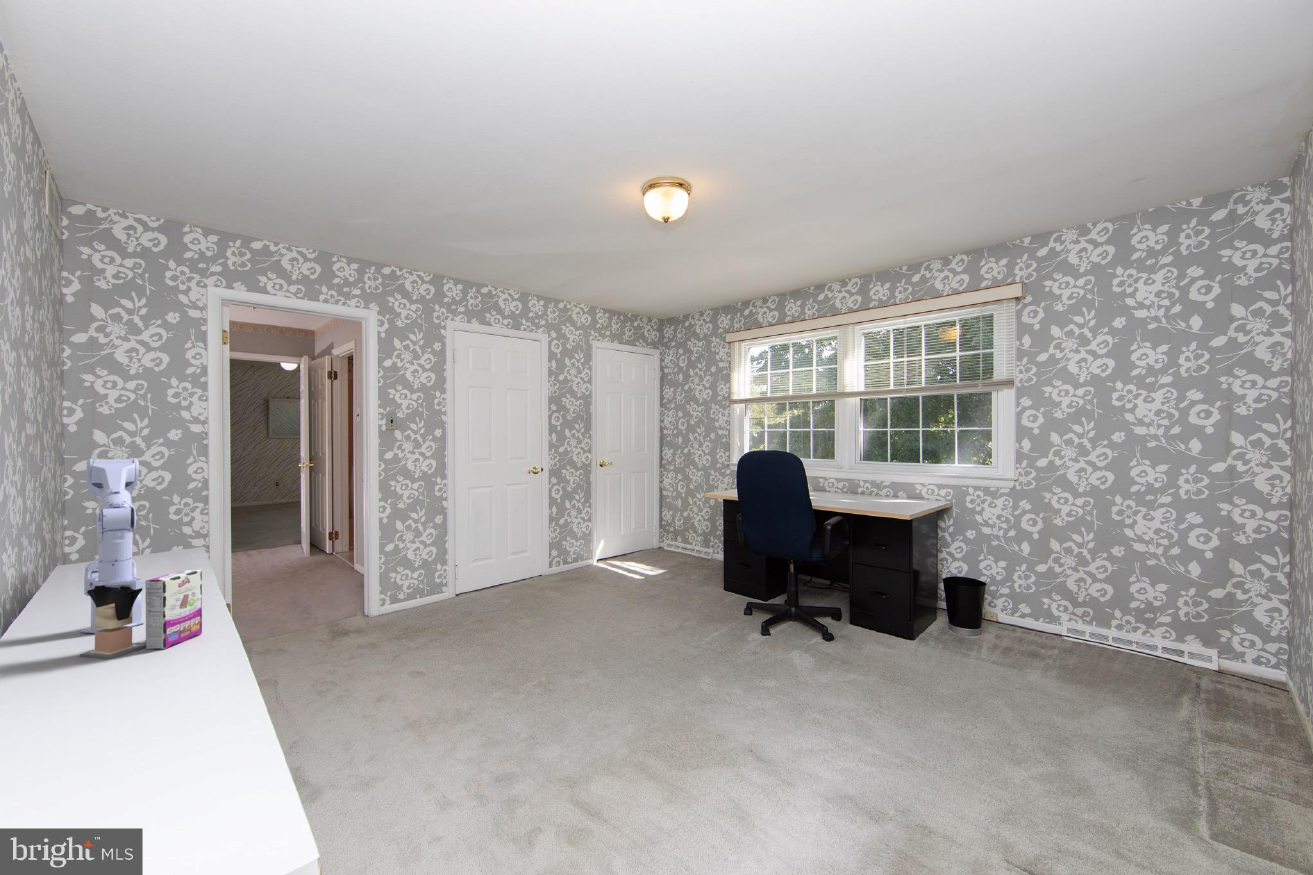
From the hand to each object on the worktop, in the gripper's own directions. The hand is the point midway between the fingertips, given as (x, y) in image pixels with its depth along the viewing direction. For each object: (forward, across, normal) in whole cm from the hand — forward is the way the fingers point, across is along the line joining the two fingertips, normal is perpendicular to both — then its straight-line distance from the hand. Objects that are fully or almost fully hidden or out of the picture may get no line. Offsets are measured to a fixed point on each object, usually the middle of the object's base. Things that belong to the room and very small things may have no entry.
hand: (114, 618), depth 132 cm
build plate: (+8, 0, 0) cm, 8 cm away
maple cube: (+2, 0, 0) cm, 2 cm away
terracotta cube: (+7, 0, 0) cm, 7 cm away
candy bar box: (+8, +7, +8) cm, 13 cm away
